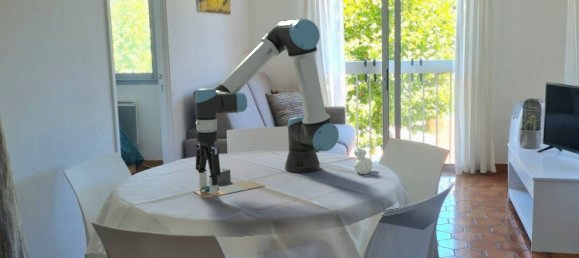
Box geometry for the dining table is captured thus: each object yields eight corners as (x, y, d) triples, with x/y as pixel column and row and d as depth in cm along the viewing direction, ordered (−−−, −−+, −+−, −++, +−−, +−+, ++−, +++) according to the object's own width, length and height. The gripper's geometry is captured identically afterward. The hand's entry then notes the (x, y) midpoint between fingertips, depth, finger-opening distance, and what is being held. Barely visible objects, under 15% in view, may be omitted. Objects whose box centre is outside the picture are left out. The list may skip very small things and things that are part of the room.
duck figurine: (368, 174, 244) (354, 152, 246) (381, 165, 240) (366, 143, 242) (355, 180, 234) (340, 157, 237) (368, 171, 230) (353, 148, 232)
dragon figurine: (207, 195, 204) (221, 182, 209) (191, 186, 206) (205, 173, 212) (207, 207, 208) (220, 194, 213) (191, 198, 210) (205, 185, 216)
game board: (251, 181, 227) (251, 180, 227) (264, 186, 219) (264, 185, 219) (193, 192, 213) (193, 191, 213) (206, 198, 205) (206, 197, 205)
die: (221, 180, 231) (221, 168, 230) (230, 182, 228) (230, 169, 227) (213, 182, 227) (212, 170, 226) (221, 184, 224) (221, 172, 223)
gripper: (184, 128, 213) (186, 187, 216) (210, 134, 197) (212, 198, 200) (202, 126, 218) (204, 185, 221) (229, 132, 201) (231, 195, 204)
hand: (208, 191), depth 210 cm, fingers open, 7 cm apart
